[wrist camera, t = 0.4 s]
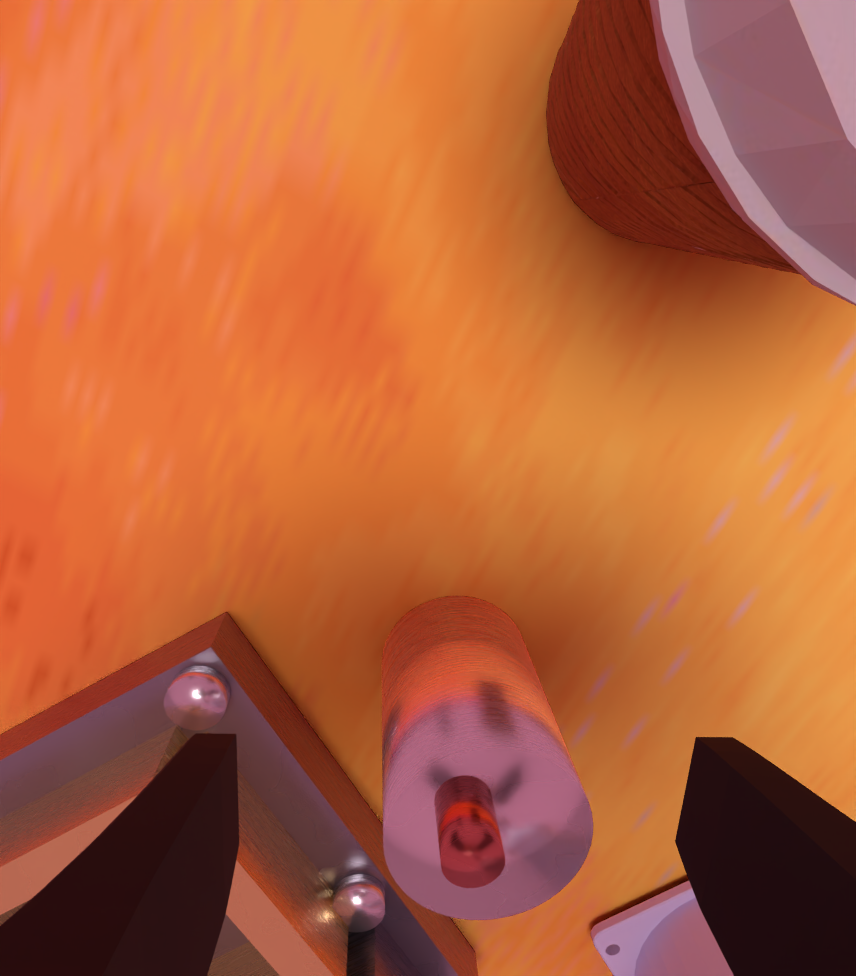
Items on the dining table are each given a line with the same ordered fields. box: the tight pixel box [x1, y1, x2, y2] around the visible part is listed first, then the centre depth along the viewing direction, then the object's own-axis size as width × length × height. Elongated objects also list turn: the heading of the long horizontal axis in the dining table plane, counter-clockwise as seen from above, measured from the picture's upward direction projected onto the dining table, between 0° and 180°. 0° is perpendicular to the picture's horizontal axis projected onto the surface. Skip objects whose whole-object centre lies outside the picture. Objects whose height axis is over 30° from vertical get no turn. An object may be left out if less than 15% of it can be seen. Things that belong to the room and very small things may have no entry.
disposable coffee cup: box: [546, 0, 856, 305], centre depth 11 cm, size 10×10×12 cm
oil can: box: [382, 596, 593, 920], centre depth 17 cm, size 4×4×9 cm
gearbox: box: [0, 612, 478, 976], centre depth 20 cm, size 16×12×5 cm
